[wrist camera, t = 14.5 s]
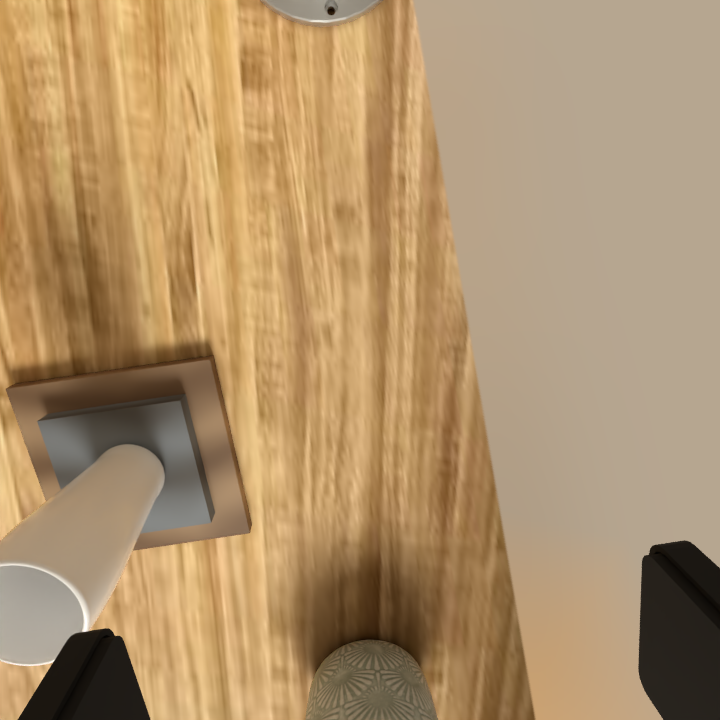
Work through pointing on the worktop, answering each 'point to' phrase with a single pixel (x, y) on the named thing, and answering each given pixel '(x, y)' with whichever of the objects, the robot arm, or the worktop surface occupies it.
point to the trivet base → (141, 388)
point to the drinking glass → (73, 554)
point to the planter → (370, 685)
